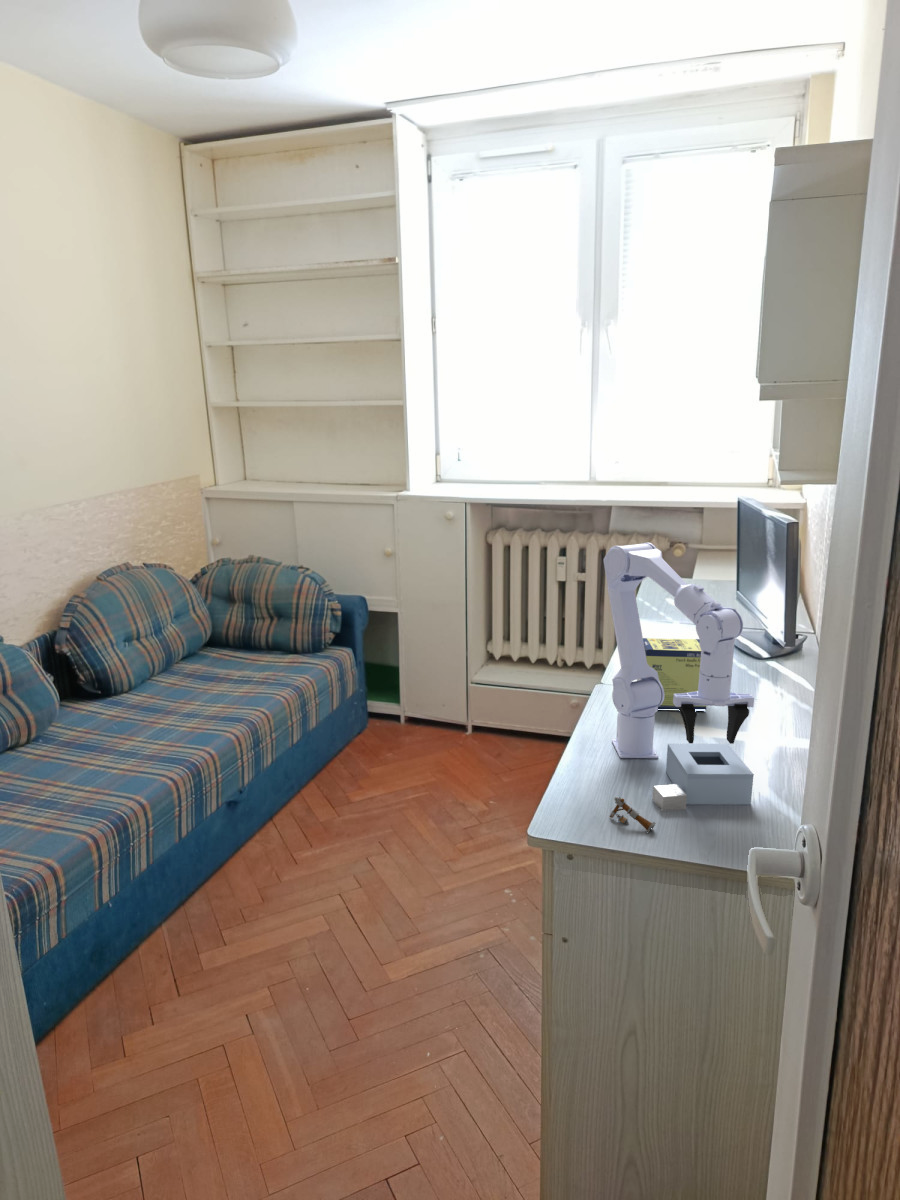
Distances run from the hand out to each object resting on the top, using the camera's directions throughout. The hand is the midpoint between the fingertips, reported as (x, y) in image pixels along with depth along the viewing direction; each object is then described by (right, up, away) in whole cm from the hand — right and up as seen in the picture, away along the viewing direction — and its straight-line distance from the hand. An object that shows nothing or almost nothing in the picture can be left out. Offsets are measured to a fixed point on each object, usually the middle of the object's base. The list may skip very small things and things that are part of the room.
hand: (709, 741), depth 154 cm
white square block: (-9, -11, -5) cm, 15 cm away
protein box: (+5, +1, +47) cm, 47 cm away
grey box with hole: (0, -9, +2) cm, 9 cm away
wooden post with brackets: (-18, -13, -13) cm, 25 cm away
